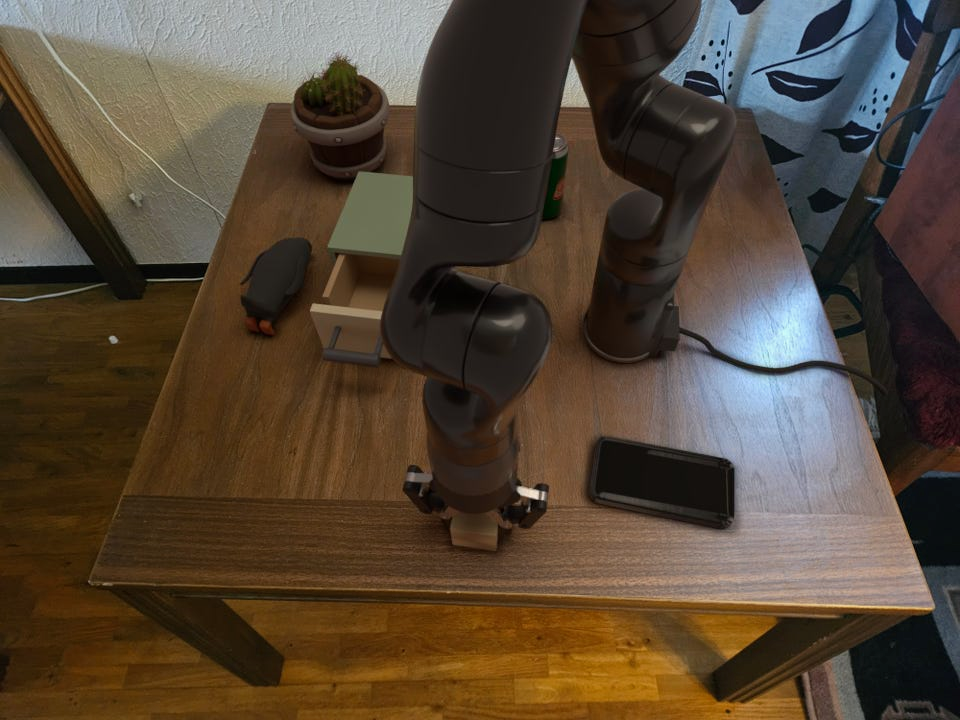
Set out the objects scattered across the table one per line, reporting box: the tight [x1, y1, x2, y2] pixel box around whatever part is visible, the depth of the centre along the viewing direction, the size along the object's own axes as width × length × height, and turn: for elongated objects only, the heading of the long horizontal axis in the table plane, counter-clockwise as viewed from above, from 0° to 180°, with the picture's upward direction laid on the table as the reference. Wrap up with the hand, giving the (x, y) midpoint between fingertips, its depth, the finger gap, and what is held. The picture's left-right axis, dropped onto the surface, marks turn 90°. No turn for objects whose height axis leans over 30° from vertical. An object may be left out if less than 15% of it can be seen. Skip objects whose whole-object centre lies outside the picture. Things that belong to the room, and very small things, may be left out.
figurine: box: [239, 236, 313, 336], centre depth 83 cm, size 7×10×15 cm
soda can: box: [542, 132, 570, 220], centre depth 90 cm, size 5×5×12 cm
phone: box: [588, 435, 736, 530], centre depth 69 cm, size 8×1×15 cm
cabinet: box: [326, 171, 413, 269], centre depth 85 cm, size 15×13×10 cm
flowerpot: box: [290, 51, 391, 181], centre depth 94 cm, size 14×15×20 cm
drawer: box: [309, 253, 400, 368], centre depth 78 cm, size 18×11×8 cm, turn 171°
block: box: [449, 512, 499, 552], centre depth 65 cm, size 5×5×5 cm
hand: (477, 525), depth 67 cm, fingers closed on block, 4 cm apart
